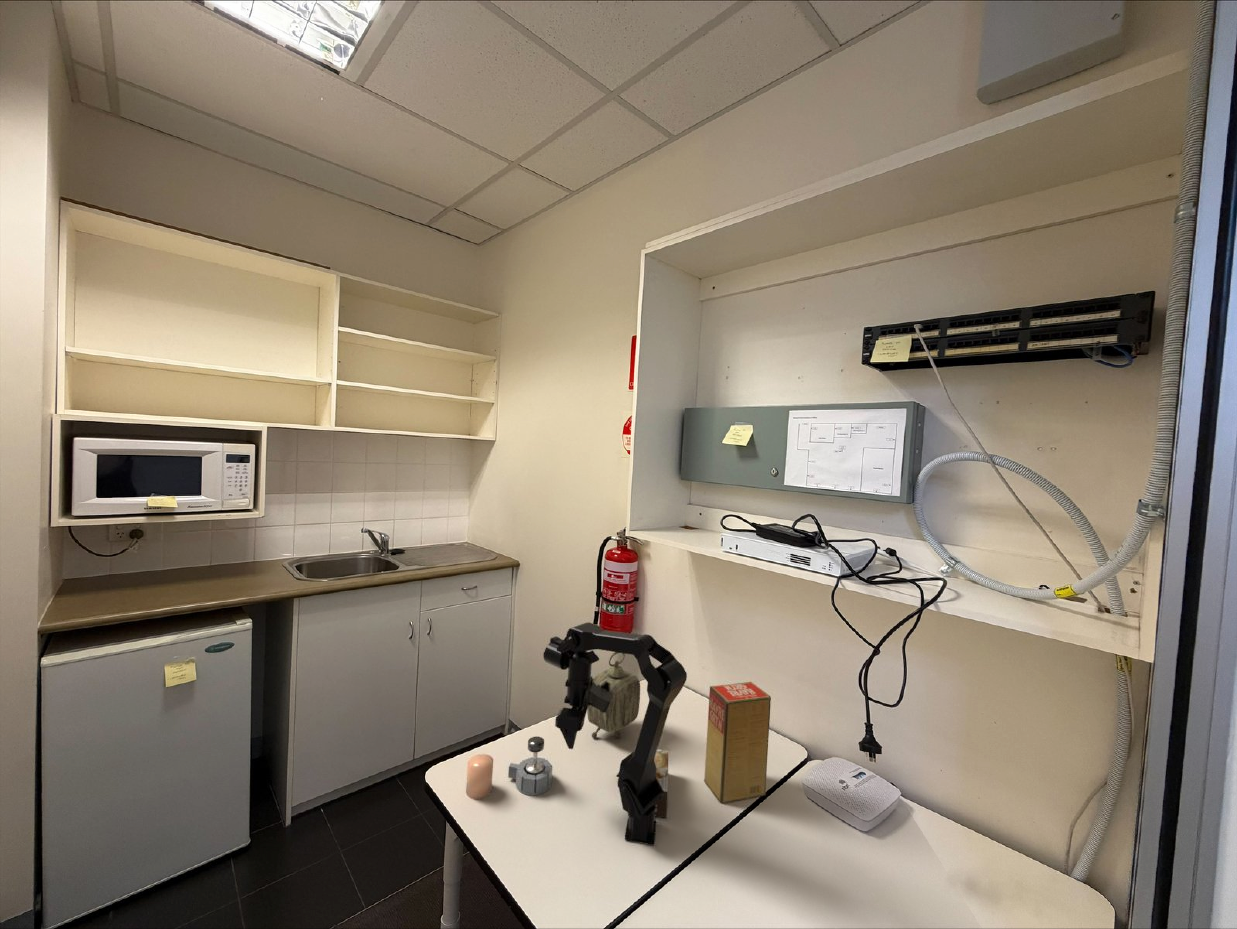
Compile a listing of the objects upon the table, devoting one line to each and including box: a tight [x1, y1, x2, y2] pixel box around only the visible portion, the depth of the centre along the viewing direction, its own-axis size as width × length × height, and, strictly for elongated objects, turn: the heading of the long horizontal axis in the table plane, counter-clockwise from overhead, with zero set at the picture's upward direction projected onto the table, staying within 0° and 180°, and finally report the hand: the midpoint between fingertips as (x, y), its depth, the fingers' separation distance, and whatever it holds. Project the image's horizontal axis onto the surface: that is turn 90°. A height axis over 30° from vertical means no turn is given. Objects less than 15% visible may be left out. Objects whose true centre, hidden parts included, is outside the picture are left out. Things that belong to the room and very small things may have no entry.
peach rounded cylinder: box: [465, 753, 494, 800], centre depth 116 cm, size 6×6×7 cm
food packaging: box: [703, 681, 772, 804], centre depth 123 cm, size 13×9×25 cm
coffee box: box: [634, 745, 670, 819], centre depth 119 cm, size 9×6×16 cm
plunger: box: [526, 736, 545, 774], centre depth 120 cm, size 4×4×7 cm
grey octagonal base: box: [507, 756, 553, 796], centre depth 120 cm, size 9×11×4 cm
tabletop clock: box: [586, 652, 641, 739], centre depth 143 cm, size 14×9×25 cm, turn 139°
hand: (575, 737), depth 119 cm, fingers open, 9 cm apart
